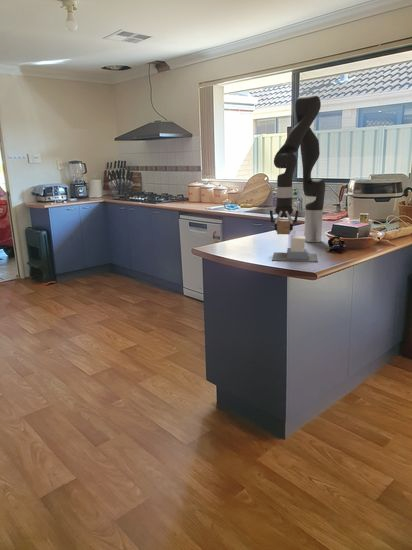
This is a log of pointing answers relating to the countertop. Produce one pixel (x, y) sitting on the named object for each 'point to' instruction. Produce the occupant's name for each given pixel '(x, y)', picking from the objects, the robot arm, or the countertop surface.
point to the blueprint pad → (284, 257)
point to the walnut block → (283, 227)
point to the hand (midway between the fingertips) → (283, 230)
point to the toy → (335, 244)
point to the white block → (297, 243)
